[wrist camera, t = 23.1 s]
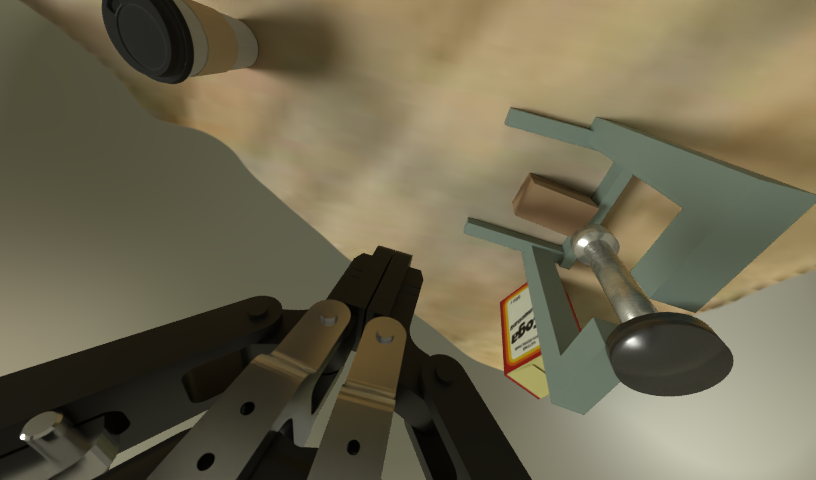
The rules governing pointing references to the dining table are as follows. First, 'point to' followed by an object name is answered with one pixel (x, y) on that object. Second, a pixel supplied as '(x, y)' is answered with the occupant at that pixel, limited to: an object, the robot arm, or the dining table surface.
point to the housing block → (553, 205)
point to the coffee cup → (177, 38)
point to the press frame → (666, 259)
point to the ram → (650, 329)
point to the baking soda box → (523, 343)
